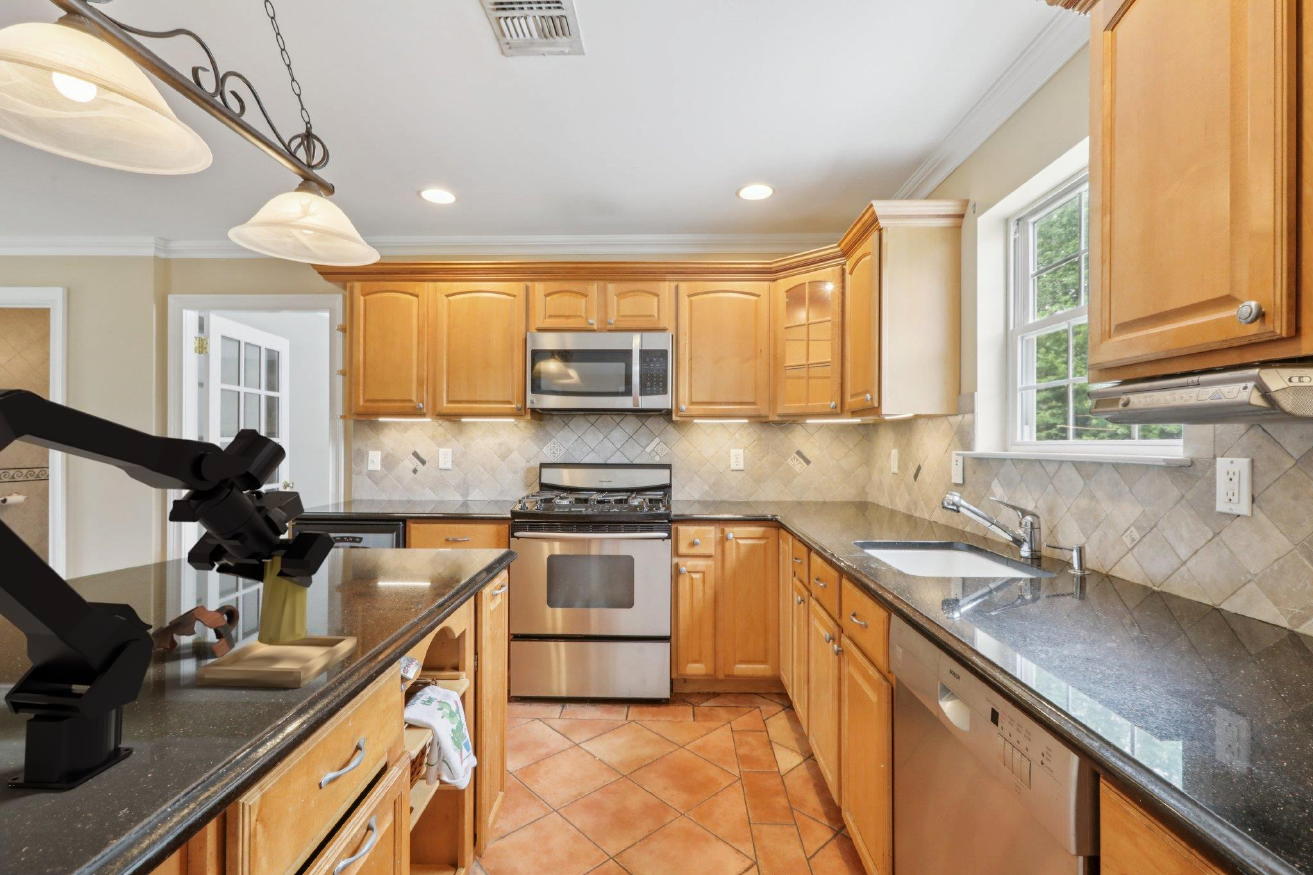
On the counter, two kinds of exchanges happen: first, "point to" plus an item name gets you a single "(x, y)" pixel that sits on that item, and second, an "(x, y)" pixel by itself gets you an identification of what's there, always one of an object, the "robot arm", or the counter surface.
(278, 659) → the maple tray
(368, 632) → the counter surface
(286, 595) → the vase
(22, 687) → the robot arm
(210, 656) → the counter surface
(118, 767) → the counter surface
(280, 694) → the counter surface
